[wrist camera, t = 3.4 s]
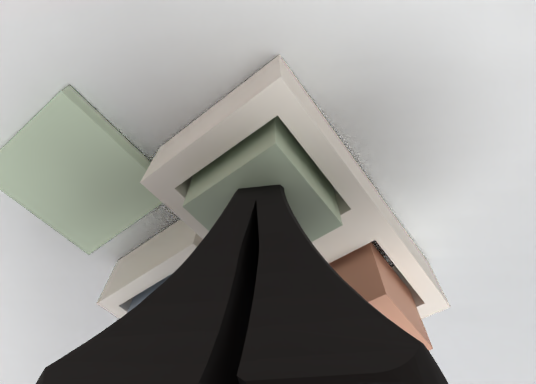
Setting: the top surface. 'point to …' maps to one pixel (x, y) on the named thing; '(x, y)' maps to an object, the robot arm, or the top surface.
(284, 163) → the sage button
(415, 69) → the top surface
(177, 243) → the side socket
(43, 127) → the sage swatch
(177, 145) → the button strip
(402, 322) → the orange-brown cube
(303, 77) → the top surface
